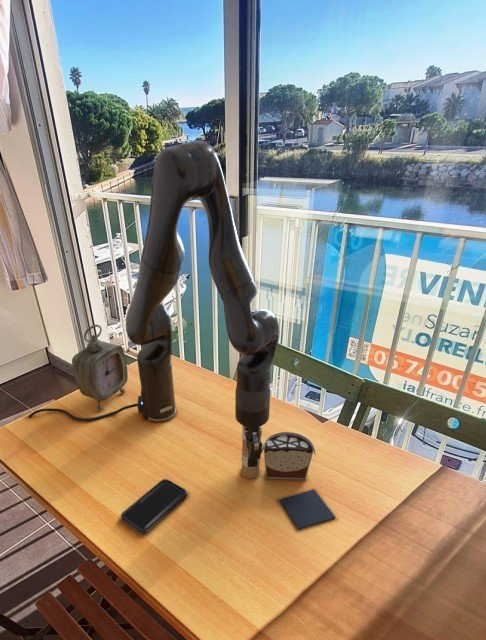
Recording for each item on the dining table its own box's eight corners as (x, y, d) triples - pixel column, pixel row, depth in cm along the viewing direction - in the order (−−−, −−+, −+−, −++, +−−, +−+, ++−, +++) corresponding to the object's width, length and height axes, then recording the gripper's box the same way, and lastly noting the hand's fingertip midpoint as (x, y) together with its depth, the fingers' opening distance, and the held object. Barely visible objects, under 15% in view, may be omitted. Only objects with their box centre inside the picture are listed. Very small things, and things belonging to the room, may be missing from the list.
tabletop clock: (100, 415, 135) (84, 339, 120) (78, 407, 139) (60, 333, 124) (131, 391, 144) (119, 319, 129) (109, 384, 148) (96, 313, 134)
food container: (308, 462, 113) (313, 430, 107) (311, 479, 108) (316, 447, 102) (259, 461, 114) (260, 430, 109) (260, 478, 110) (261, 446, 104)
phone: (188, 491, 105) (143, 532, 96) (189, 495, 106) (144, 535, 97) (164, 477, 110) (118, 515, 101) (164, 480, 110) (119, 518, 101)
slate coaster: (298, 529, 96) (298, 528, 96) (278, 500, 103) (279, 499, 103) (335, 518, 98) (335, 517, 98) (313, 490, 105) (314, 489, 105)
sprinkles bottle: (240, 466, 113) (241, 423, 105) (258, 465, 113) (260, 422, 105) (242, 479, 109) (242, 435, 101) (261, 478, 109) (263, 435, 101)
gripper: (231, 384, 104) (231, 441, 114) (239, 421, 93) (239, 481, 103) (263, 382, 104) (261, 439, 115) (276, 418, 93) (272, 479, 103)
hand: (250, 459), depth 109 cm, fingers closed on sprinkles bottle, 4 cm apart
